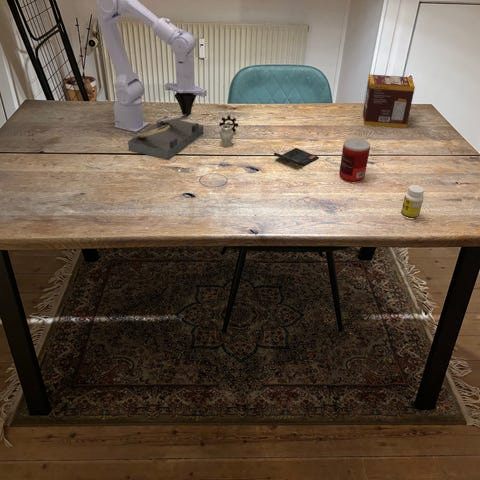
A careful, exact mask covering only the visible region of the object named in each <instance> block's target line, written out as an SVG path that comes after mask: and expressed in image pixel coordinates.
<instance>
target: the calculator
mask: <svg viewBox="0 0 480 480" xmlns="http://www.w3.org/2000/svg"><path fill="white" fill-rule="evenodd" d="M273 156H275V157H278V158H280V159H282V160H283V161H287V162H289V163H292V164H294V165H296V166H300V167H303V168H304V167H305V166H307V165H309V164H312V163H313V162H315V161H317V160H319V159H320V157H319V156H317V155H315V154H313V153H310V152H308V151H305V150H303V149H300V148H297V147H295V148H293V149H291V150H289V151H286V152H285V153H282V154H281V153H278V152H274V153H273Z"/></svg>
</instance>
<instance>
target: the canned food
mask: <svg viewBox="0 0 480 480" xmlns="http://www.w3.org/2000/svg"><path fill="white" fill-rule="evenodd" d="M370 149H371V143H370V142H369V141H368V140H365V139H363V138H360V137H359V138H357V137H352V138H348V139H345V140H344V142H343V145H342V152H341V157H340V158H341V159H340V165H339V172H338V173H339V178H340V179H341V180H343V181H344V182H347V183H352V182H355V183H360V182H362V181H363V180H364V179H365V176H366V172H367V167H368V160H369V155H370Z"/></svg>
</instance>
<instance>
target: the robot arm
mask: <svg viewBox="0 0 480 480" xmlns="http://www.w3.org/2000/svg"><path fill="white" fill-rule="evenodd" d="M95 4H96V7H97V21H98V22H97V23H98V25H99V29H100V31H101V35H102V38H103V40H104V44H105V45H106V48H107V51H108V52H107V53H108V55H109V57H110V60H111V64H112V66H113V69H114V72H115V75H116V77H115V81H114V88H115V99H116V101H115V103H114V105H113V114H114V115H113V116H114V123H115V124H114V125H113V126H114V128H116V129H121V130H124V131H125V130H126V131H130V132H134V133H138V132H139V131H142V129H144V128H145V127H147V126H149V125H150V123H149V122H146V121H144V113H143V111H144V110H143V102H142V99H143V98H142V97H143V96H144V94H145V85H144V84H143V81H141V80H140V78H139V75H138V74H137V73H135V72H134V71H133V69H132V66H131V63H130V60H129V57H128V54H127V50H126V47H125V44H124V41H123V38H122V35H121V33H120V29H119V26H118V23H117V22H118V21H119V19H120V17H121V15H126V14H127V15H128V14H129V15H132V16H134V17H135V18H137V19H138V20H140V21H141V22H142V23H144V24H146V25H147V26H149V27H150V28H152V32H153V34H154V35H155V36H156V37H157V38H159V39H160V40H161V41H163V42H164V43H165V44H167V45H168V46H170V48H171V51H172V53H173V54H174V60H175V61H174V62H175V63H174V64H175V81H176V82H175V83H174V82H173V83H172V82H167V83H164V90H165V91H173V92H176V93H174V98H175V100H176V101H177V103H178V105H179V107H180V110H181V113H182V114H181V115H185V114H186V115H187V116H188V115H190V114H191V113H192V108H193V105H194V103H195V100H196V97H198V96H199V97H201V98H205V97H207V96H208V95H207V93H208V92H207V89H204V88H202V87H199V86H196V85H195V70H194V69H195V67H194V49H195V48H196V45H197V42H196V39H195V36H194V35H193V34H192V33H191V32H189V31H184V30H183V29H182V28H178V27H177V26H176V25H174V24H173V23H172V22H171V20H170V18H165V17H161V18H159V17H158V16H157V15H155V13H153V12H152V11H150V10H149V9H148V8H147V7H145V5H143V4H142V3H141V2H140V1H139V0H96V2H95Z"/></svg>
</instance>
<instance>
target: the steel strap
mask: <svg viewBox="0 0 480 480" xmlns="http://www.w3.org/2000/svg"><path fill="white" fill-rule="evenodd" d="M193 116H194V114H193V112H191V114H190V115H188V116H187V115H186V114H185V115H183V114H181V115H180V114H179V115H176V116H171V117H169V116H168V118H164V117H163V120H162V119H161V120H160V121H161V123H167V122H172V121H178V120H181V121H184V120H188V119H190V118H192V117H193Z"/></svg>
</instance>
